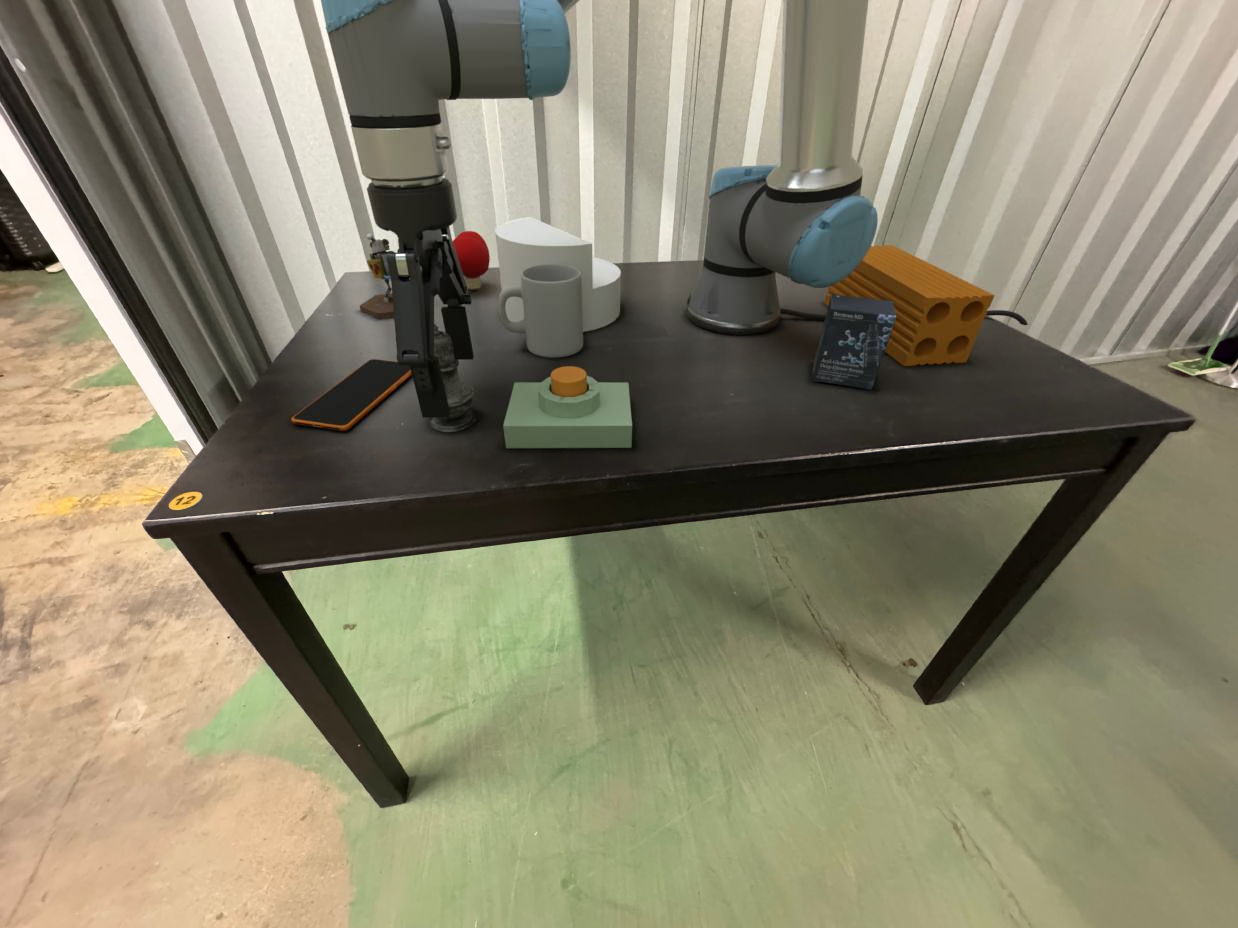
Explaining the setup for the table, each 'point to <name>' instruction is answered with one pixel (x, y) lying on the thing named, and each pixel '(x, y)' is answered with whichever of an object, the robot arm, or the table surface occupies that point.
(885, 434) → the table surface
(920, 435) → the table surface
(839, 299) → the box
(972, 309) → the brick
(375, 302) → the robot figurine
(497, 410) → the table surface
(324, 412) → the smartphone
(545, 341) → the mug
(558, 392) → the orange push button
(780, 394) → the table surface
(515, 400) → the green button housing
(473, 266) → the red mushroom
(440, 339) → the salt shaker
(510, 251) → the container
